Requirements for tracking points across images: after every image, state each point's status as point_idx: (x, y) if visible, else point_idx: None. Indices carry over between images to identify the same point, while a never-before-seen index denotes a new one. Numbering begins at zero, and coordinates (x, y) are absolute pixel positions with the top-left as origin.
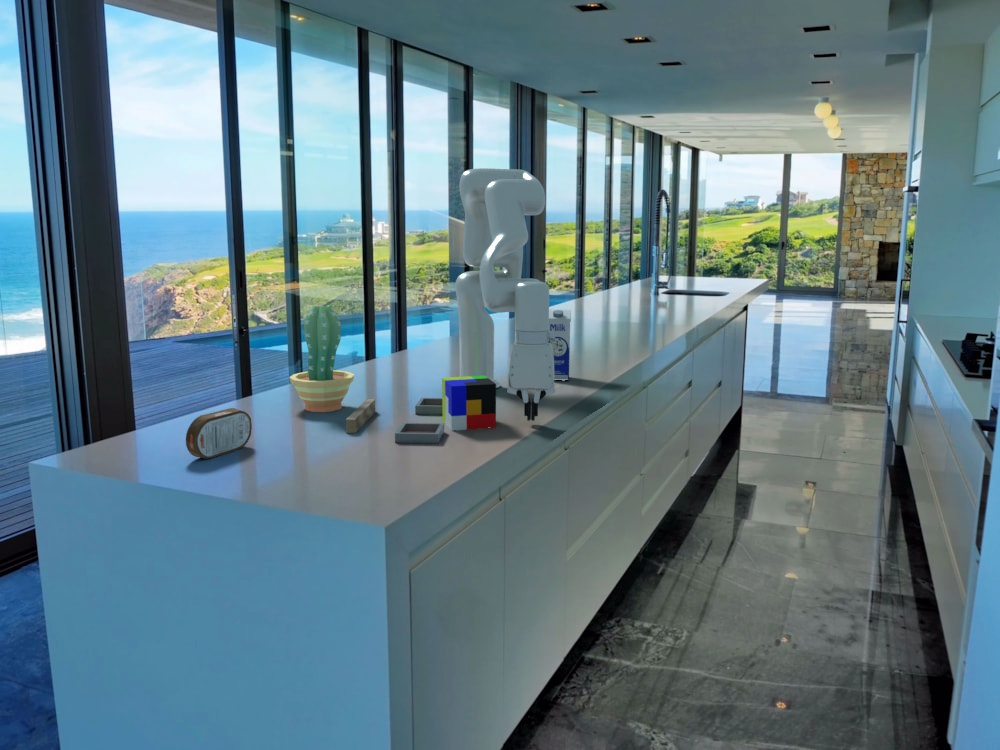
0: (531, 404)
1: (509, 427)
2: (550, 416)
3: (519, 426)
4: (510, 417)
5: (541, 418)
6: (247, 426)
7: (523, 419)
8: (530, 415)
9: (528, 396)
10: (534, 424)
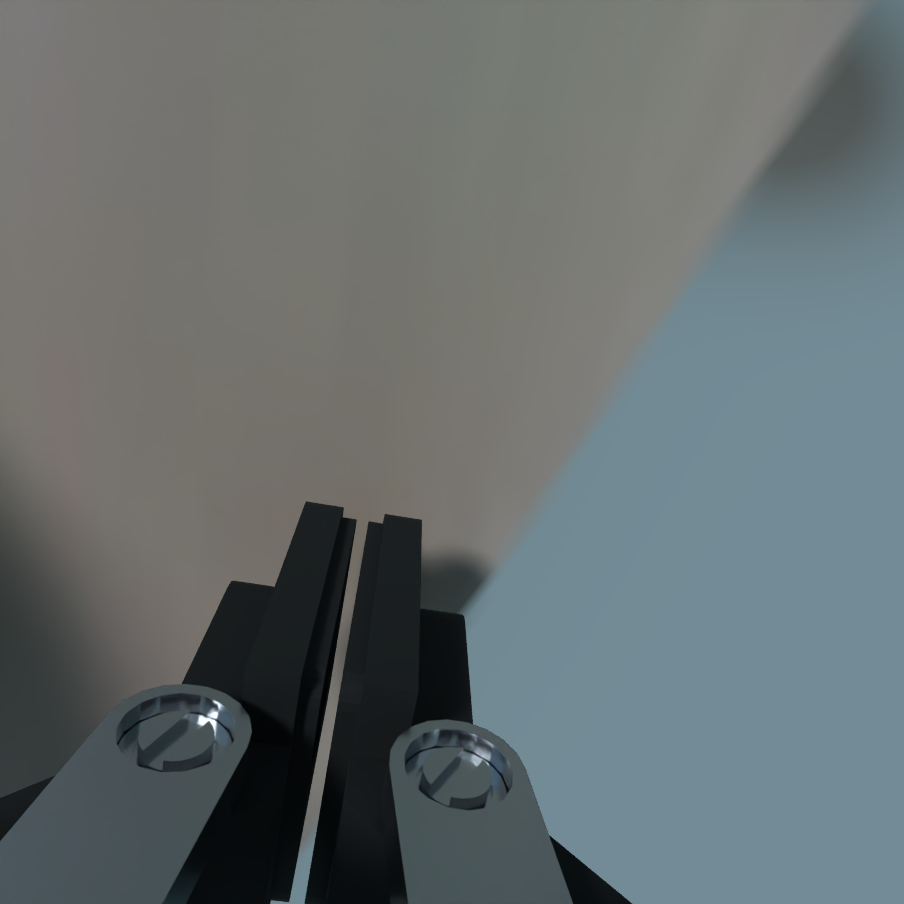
0: (307, 899)
1: (54, 644)
2: (785, 30)
3: (191, 609)
4: (42, 20)
5: (590, 169)
6: None
7: (275, 207)
8: (319, 741)
9: (227, 817)
10: None
